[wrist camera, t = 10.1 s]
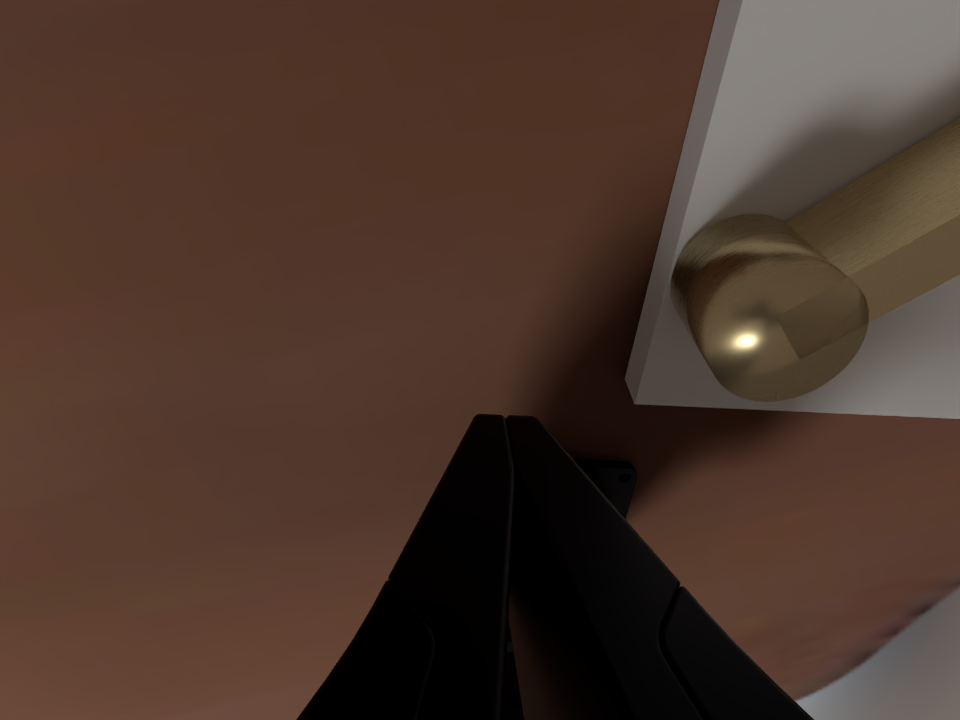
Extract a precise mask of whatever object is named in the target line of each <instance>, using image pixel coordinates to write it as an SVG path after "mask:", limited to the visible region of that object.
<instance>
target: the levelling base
mask: <svg viewBox="0 0 960 720" xmlns="http://www.w3.org/2000/svg"><path fill="white" fill-rule="evenodd" d="M959 118H960V0H720V1H719V5H718V9H717V13H716V17H715V21H714V25H713V29H712V33H711V37H710V41H709V45H708V49H707V53H706V57H705V61H704V65H703V69H702V73H701V77H700V81H699V85H698V89H697V93H696V97H695V101H694V105H693V109H692V113H691V117H690V121H689V125H688V129H687V133H686V137H685V141H684V145H683V149H682V153H681V157H680V161H679V164H678V168H677V172H676V176H675V180H674V184H673V188H672V192H671V196H670V200H669V204H668V208H667V212H666V216H665V220H664V224H663V228H662V232H661V236H660V240H659V244H658V248H657V252H656V256H655V260H654V264H653V268H652V272H651V276H650V280H649V284H648V288H647V292H646V296H645V300H644V304H643V308H642V312H641V316H640V320H639V324H638V328H637V332H636V336H635V340H634V344H633V348H632V352H631V356H630V360H629V364H628V368H627V372H626V376H625V381H626V384H627V386H628V389H629V391H630V394H631V396H632V399H633V401H634V404H641V405H664V406H686V407H708V408H730V409H753V410H775V411H797V412H819V413H842V414H864V415H886V416H908V417H931V418H953V419H960V275H958V276H956V277H954V278H952V279H950V280H949V281H947V282H945V283H943V284H941V285H939V286H937V287H935V288H934V289H932V290H930V291H928V292H926V293H924V294H922V295H920V296H918V297H917V298H915V299H913V300H911V301H909V302H907V303H905V304H903V305H902V306H900V307H898V308H896V309H894V310H892V311H890V312H888V313H886V314H885V315H883V316H881V317H879V318H877V319H875V320H873V321H871V322H870V323H869V324H868V329H867V333H866V336H865V339H864V341H863V343H862V345H861V347H860V349H859V350H858V352H857V354H856V355H855V357H854V358H853V359H852V360H851V362H850V363H849V364H848V365H847V366H846V367H845V368H844V369H843V370H842V371H841V372H840V373H839V374H838V375H836V376H835V377H834V378H833V379H831V380H830V381H828V382H827V383H826V384H824V385H822V386H821V387H819V388H817V389H815V390H813V391H811V392H809V393H807V394H804V395H801V396H798V397H796V398H792V399H788V400H782V401H775V402H759V401H752V400H747V399H744V398H741V397H738V396H736V395H734V394H732V393H731V392H729V391H728V390H726V389H725V388H724V387H723V386H722V385H721V384H720V383H719V382H718V380H717V379H716V378H715V376H714V374H713V373H712V371H711V369H710V368H709V366H708V364H707V363H706V361H705V359H704V358H703V356H702V354H701V352H700V351H699V349H698V347H697V346H696V344H695V342H694V341H693V339H692V337H691V336H690V334H689V332H688V331H687V329H686V327H685V326H684V324H683V322H682V321H681V319H680V317H679V316H678V314H677V312H676V310H675V308H674V306H673V303H672V300H671V294H670V283H671V277H672V273H673V270H674V267H675V265H676V262H677V260H678V259H679V257H680V255H681V253H682V252H683V251H684V249H685V248H686V247H687V246H688V244H689V243H690V242H691V241H692V240H693V239H694V238H695V237H696V236H698V235H699V234H700V233H701V232H703V231H704V230H705V229H707V228H708V227H710V226H712V225H714V224H715V223H717V222H720V221H722V220H724V219H727V218H730V217H734V216H738V215H743V214H764V215H768V216H772V217H775V218H778V219H780V220H782V221H784V222H785V223H786V222H787V221H789V220H791V219H792V218H794V217H796V216H797V215H799V214H801V213H802V212H804V211H806V210H807V209H809V208H811V207H812V206H814V205H816V204H817V203H819V202H821V201H822V200H824V199H826V198H827V197H829V196H831V195H832V194H834V193H836V192H837V191H839V190H841V189H842V188H844V187H846V186H847V185H849V184H851V183H852V182H854V181H855V180H857V179H859V178H860V177H862V176H864V175H865V174H867V173H869V172H870V171H872V170H874V169H875V168H877V167H879V166H880V165H882V164H884V163H885V162H887V161H889V160H890V159H892V158H894V157H895V156H897V155H899V154H900V153H902V152H904V151H905V150H907V149H909V148H910V147H912V146H914V145H915V144H917V143H919V142H920V141H922V140H924V139H925V138H927V137H929V136H930V135H932V134H934V133H935V132H937V131H939V130H940V129H942V128H944V127H945V126H947V125H949V124H950V123H952V122H954V121H955V120H957V119H959Z"/></svg>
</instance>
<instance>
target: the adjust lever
mask: <svg viewBox="0 0 960 720" xmlns="http://www.w3.org/2000/svg"><path fill="white" fill-rule="evenodd" d="M958 275H960V118H959V119H957V120H955V121H954V122H952V123H950V124H949V125H947V126H945V127H944V128H942V129H940V130H939V131H937V132H935V133H934V134H932V135H930V136H929V137H927V138H925V139H924V140H922V141H920V142H919V143H917V144H915V145H914V146H912V147H910V148H909V149H907V150H905V151H904V152H902V153H900V154H899V155H897V156H895V157H894V158H892V159H890V160H889V161H887V162H885V163H884V164H882V165H880V166H879V167H877V168H875V169H874V170H872V171H870V172H869V173H867V174H865V175H864V176H862V177H860V178H859V179H857V180H855V181H854V182H852V183H851V184H849V185H847V186H846V187H844V188H842V189H841V190H839V191H837V192H836V193H834V194H832V195H831V196H829V197H827V198H826V199H824V200H822V201H821V202H819V203H817V204H816V205H814V206H812V207H811V208H809V209H807V210H806V211H804V212H802V213H801V214H799V215H797V216H796V217H794V218H792V219H791V220H789V221H787V222H786V223H785V222H784V221H782V220H780V219H778V218H775V217H772V216H768V215H764V214H743V215H738V216H734V217H730V218H727V219H724V220H722V221H720V222H717V223H715V224H714V225H712V226H710V227H708V228H707V229H705V230H704V231H703V232H701V233H700V234H699V235H698V236H696V237H695V238H694V239H693V240H692V241H691V242H690V243H689V244H688V246H687V247H686V248H685V249H684V251H683V252H682V253H681V255H680V257H679V259H678V260H677V262H676V265H675V267H674V270H673V273H672V277H671V283H670V294H671V300H672V303H673V306H674V308H675V310H676V312H677V314H678V316H679V317H680V319H681V321H682V322H683V324H684V326H685V327H686V329H687V331H688V332H689V334H690V336H691V337H692V339H693V341H694V342H695V344H696V346H697V347H698V349H699V351H700V352H701V354H702V356H703V358H704V359H705V361H706V363H707V364H708V366H709V368H710V369H711V371H712V373H713V374H714V376H715V378H716V379H717V380H718V382H719V383H720V384H721V385H722V386H723V387H724V388H725V389H726V390H728V391H729V392H731V393H732V394H734V395H736V396H738V397H741V398H744V399H747V400H752V401H759V402H775V401H782V400H788V399H792V398H796V397H798V396H801V395H804V394H807V393H809V392H811V391H813V390H815V389H817V388H819V387H821V386H822V385H824V384H826V383H827V382H828V381H830V380H831V379H833V378H834V377H835V376H836V375H838V374H839V373H840V372H841V371H842V370H843V369H844V368H845V367H846V366H847V365H848V364H849V363H850V362H851V360H852V359H853V358H854V357H855V355H856V354H857V352H858V350H859V349H860V347H861V345H862V343H863V341H864V339H865V336H866V333H867V329H868V324H869V323H870V322H871V321H873V320H875V319H877V318H879V317H881V316H883V315H885V314H886V313H888V312H890V311H892V310H894V309H896V308H898V307H900V306H902V305H903V304H905V303H907V302H909V301H911V300H913V299H915V298H917V297H918V296H920V295H922V294H924V293H926V292H928V291H930V290H932V289H934V288H935V287H937V286H939V285H941V284H943V283H945V282H947V281H949V280H950V279H952V278H954V277H956V276H958Z"/></svg>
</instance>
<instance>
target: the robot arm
mask: <svg viewBox="0 0 960 720" xmlns="http://www.w3.org/2000/svg"><path fill="white" fill-rule="evenodd" d="M624 473H627V474H626V475H624V476H620V475H621V474H624ZM636 481H637V473H636V470H635V467H634V466H633V464H631V463H630V462H624V461H597V460H573V459H572V458H571V457H570V456H569V454H568V453H567V452H566V451H565V450H564V449H563V448H562V446H561V445H560V444H559V443H558V442H557V441H556V440H555V438H554V437H553V436H552V435H551V434H550V433H549V432H548V430H547V429H546V428H545V427H544V426H543V425H542V424H541V422H540V421H539V420H538V419H537V418H535V417H533V416H517V415H509V416H508V417H507V418H506V419H505V418H504V417H503V416H502V415H493V414H477V415H476V416H475V417H474V418H473V420H472V422H471V424H470V425H469V427H468V429H467V431H466V433H465V435H464V437H463V439H462V440H461V442H460V444H459V446H458V448H457V450H456V452H455V454H454V455H453V457H452V459H451V461H450V463H449V465H448V467H447V468H446V470H445V472H444V474H443V476H442V478H441V480H440V482H439V483H438V485H437V487H436V489H435V491H434V493H433V495H432V496H431V498H430V500H429V502H428V504H427V506H426V508H425V510H424V511H423V513H422V515H421V517H420V519H419V521H418V523H417V524H416V526H415V528H414V530H413V532H412V534H411V536H410V538H409V539H408V541H407V543H406V545H405V547H404V549H403V551H402V552H401V554H400V556H399V558H398V560H397V562H396V564H395V566H394V567H393V569H392V571H391V573H390V575H389V578H388V580H387V581H386V582H385V584H384V585H383V587H382V589H381V591H380V593H379V595H378V597H377V598H376V600H375V602H374V604H373V606H372V607H371V609H370V611H369V613H368V614H367V616H366V618H365V619H364V621H363V623H362V625H361V626H360V628H359V630H358V631H357V633H356V635H355V636H354V638H353V640H352V641H351V643H350V644H349V646H348V647H347V649H346V650H345V652H344V653H343V655H342V656H341V658H340V659H339V661H338V662H337V663H336V665H335V666H334V668H333V669H332V671H331V672H330V674H329V675H328V677H327V678H326V680H325V681H324V682H323V684H322V685H321V687H320V688H319V689H318V691H317V692H316V693H315V695H314V696H313V697H312V699H311V700H310V702H309V703H308V704H307V706H306V707H305V708H304V710H303V711H302V713H301V714H300V715H299V717H298V718H297V719H296V720H814V719H813V718H812V717H811V716H810V715H808V714H807V712H805V711H804V710H803V709H802V708H801V707H800V706H799V705H798V704H797V703H796V702H795V701H794V700H793V699H792V698H791V697H790V696H789V695H788V694H787V693H786V692H784V691H783V690H782V689H781V688H780V687H779V686H778V685H777V684H776V683H775V682H774V681H773V680H772V679H771V678H770V677H769V676H768V675H767V674H766V673H765V672H764V671H763V670H762V669H761V668H760V667H759V666H758V665H757V664H756V663H755V662H754V661H753V660H752V659H751V658H750V657H749V656H748V655H747V654H746V653H745V652H744V651H743V650H742V649H741V648H740V647H739V646H738V645H737V644H736V643H735V642H734V641H733V640H732V639H731V638H730V637H729V636H728V635H727V633H726V632H725V631H724V630H723V629H722V628H721V627H720V626H719V625H718V624H717V623H716V621H715V620H714V619H713V618H712V617H711V616H710V615H709V614H708V613H707V612H706V611H705V610H704V608H703V607H702V606H701V605H700V604H699V603H698V602H697V600H696V599H695V598H694V597H693V596H692V595H691V594H690V592H689V591H688V590H687V589H686V588H685V587H683V586H682V587H680V581H679V580H678V579H677V578H676V577H675V576H674V574H673V573H672V572H671V571H670V570H669V569H668V568H667V566H666V565H665V564H664V563H663V562H662V561H661V560H660V558H659V557H658V556H657V555H656V554H655V553H654V552H653V550H652V549H651V548H650V547H649V546H648V545H647V544H646V542H645V541H644V540H643V539H642V538H641V537H640V536H639V534H638V533H637V532H636V531H635V530H634V529H633V528H632V526H631V525H630V524H629V523H628V522H627V521H626V520H625V518H626V515H627V511H628V508H629V505H630V501H631V498H632V494H633V491H634V488H635V484H636ZM679 587H680V588H679Z"/></svg>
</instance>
